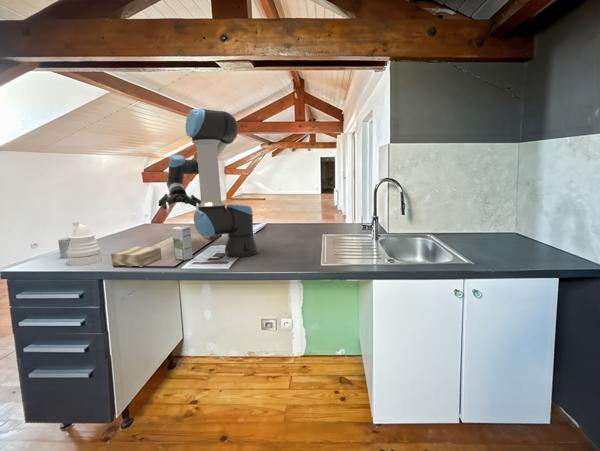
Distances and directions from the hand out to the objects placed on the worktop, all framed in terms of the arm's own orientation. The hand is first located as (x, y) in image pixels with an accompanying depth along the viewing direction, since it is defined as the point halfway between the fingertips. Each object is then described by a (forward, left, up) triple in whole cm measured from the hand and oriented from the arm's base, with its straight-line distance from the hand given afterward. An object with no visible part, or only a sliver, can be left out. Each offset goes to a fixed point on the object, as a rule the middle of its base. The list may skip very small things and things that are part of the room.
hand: (184, 211), depth 161 cm
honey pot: (+40, +17, -21) cm, 49 cm away
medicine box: (+55, +10, -21) cm, 60 cm away
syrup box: (-1, +4, -21) cm, 22 cm away
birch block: (+16, +13, -21) cm, 30 cm away
